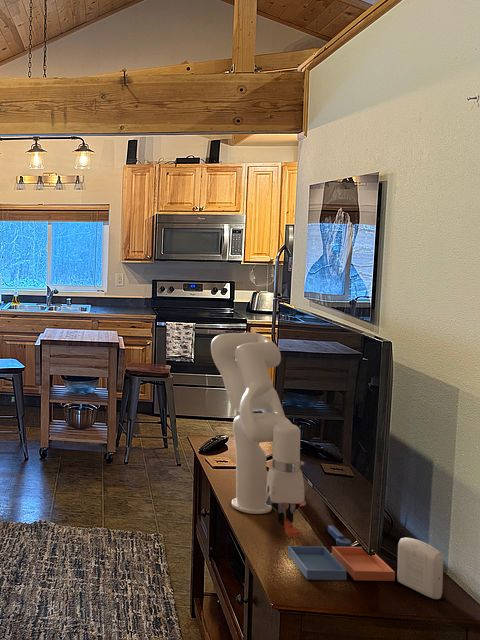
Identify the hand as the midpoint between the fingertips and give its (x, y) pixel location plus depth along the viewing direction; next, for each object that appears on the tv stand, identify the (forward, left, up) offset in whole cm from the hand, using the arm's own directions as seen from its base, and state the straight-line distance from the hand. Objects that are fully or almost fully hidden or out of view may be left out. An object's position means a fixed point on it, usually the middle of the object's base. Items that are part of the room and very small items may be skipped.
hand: (284, 523), depth 197 cm
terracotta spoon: (+3, 0, 0) cm, 3 cm away
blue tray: (+21, +1, -3) cm, 21 cm away
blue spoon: (+4, +14, -3) cm, 15 cm away
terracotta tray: (+21, +13, -3) cm, 25 cm away
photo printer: (+32, +22, -3) cm, 39 cm away
